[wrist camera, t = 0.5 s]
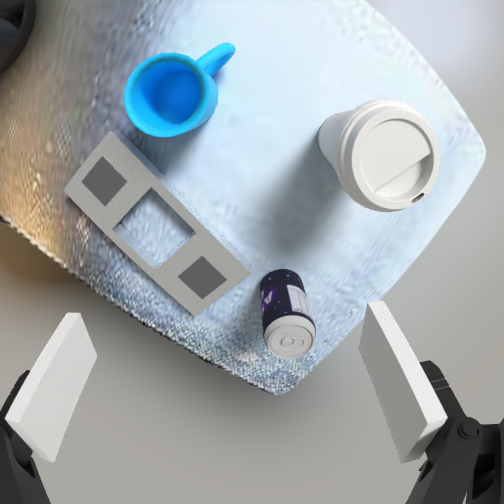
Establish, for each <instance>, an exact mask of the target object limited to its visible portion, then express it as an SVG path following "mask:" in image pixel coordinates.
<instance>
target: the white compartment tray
mask: <svg viewBox="0 0 504 504" xmlns="http://www.w3.org/2000/svg"><path fill="white" fill-rule="evenodd" d="M151 187H152V188H153V189H154V190H155V191H156V192H157V193H158V194H159V195H160V196H161V197H162V198H163V199H164V200H165V201H166V202H167V203H168V204H169V205H170V206H171V207H172V208H173V209H174V210H175V211H176V212H177V213H178V214H179V215H180V216H181V217H182V218H183V220H184V221H185V222H186V223H187V224H188V225H189V226H190V227H191V228H192V229H193V230H194V231H193V232H192V233H191V234H190V235H189V236H187V237H186V238H185V239H184V240H183V241H182V242H181V243H180V244H179V245H177V246H176V247H175V248H174V249H173V250H172V251H171V252H170V253H169V254H168V255H167V256H166V257H164V258H163V259H162V260H161V261H159V260H158V259H156V258H155V257H154V256H153V255H152V254H151V253H150V252H149V251H148V250H147V249H146V248H145V247H144V246H143V245H142V244H141V243H140V242H139V241H138V240H137V239H136V238H135V237H134V236H133V235H132V234H131V233H130V232H129V231H128V230H127V229H126V228H125V227H124V226H123V225H122V224H121V223H120V222H119V221H120V220H121V219H122V218H123V217H124V216H125V215H126V214H127V213H128V212H129V211H130V209H131V208H132V207H133V206H134V205H135V204H136V203H137V202H138V201H139V200H140V199H141V198H142V197H143V196H144V195H145V194H146V192H147V191H148V190H149V189H150V188H151ZM64 191H65V193H66V194H67V195H68V196H69V197H70V198H71V199H72V200H73V201H74V202H75V203H76V204H77V205H78V206H79V207H80V208H81V209H82V211H83V212H84V213H85V214H86V215H87V216H88V217H89V218H90V219H91V220H92V221H93V222H94V223H95V224H96V225H97V226H98V227H99V228H100V229H101V230H102V231H103V232H104V233H105V234H106V235H107V236H108V237H109V238H110V239H111V240H112V241H113V242H114V243H115V244H116V245H117V246H118V247H119V248H120V249H121V250H122V251H123V252H124V253H126V254H127V255H128V256H129V257H130V258H131V259H132V260H133V261H134V262H135V263H136V264H137V265H138V266H139V267H140V268H141V269H142V270H143V271H145V272H146V273H147V274H148V275H149V276H150V277H151V278H152V279H153V280H154V281H155V282H156V283H158V284H159V285H160V286H161V287H162V288H163V289H164V290H165V291H166V292H168V293H169V294H170V295H171V296H172V297H173V298H174V299H175V300H177V301H178V302H179V303H180V304H181V305H182V306H183V307H185V308H186V309H187V310H188V311H189V312H190V313H191V314H193V315H194V316H196V315H197V314H199V313H200V312H201V311H203V310H204V309H205V308H207V307H208V306H209V305H211V304H212V303H213V302H214V301H216V300H217V299H218V298H220V297H221V296H222V295H224V294H225V293H226V292H228V291H229V290H230V289H231V288H233V287H234V286H235V285H237V284H238V283H239V282H241V281H242V280H243V279H244V278H246V277H247V276H248V275H250V274H251V264H250V263H249V262H248V261H247V260H246V259H245V258H244V257H243V256H242V255H241V254H240V253H239V252H238V251H237V250H236V249H235V248H234V247H233V246H232V245H231V244H230V243H229V242H228V241H227V239H226V238H225V237H224V236H223V235H222V234H221V233H220V232H219V231H218V230H217V229H216V228H215V227H214V226H213V225H212V224H211V223H210V222H209V221H208V220H207V219H206V218H205V217H204V216H203V215H202V214H201V213H200V212H199V211H198V210H197V209H196V208H195V207H194V206H193V205H192V204H191V203H190V202H189V201H188V200H187V199H186V198H185V197H184V196H183V195H182V194H181V193H180V192H179V190H178V189H177V188H176V187H175V186H174V185H173V184H172V183H171V182H170V181H169V180H168V179H167V178H166V177H165V176H164V175H163V174H162V173H161V172H160V171H159V170H158V169H157V168H156V167H155V166H154V165H153V164H152V163H151V162H150V161H149V160H148V159H147V158H146V157H145V156H144V154H143V153H142V152H141V151H140V150H139V149H138V148H137V147H136V146H135V145H134V144H133V143H132V142H131V141H130V140H129V139H128V138H127V137H126V136H125V135H124V134H123V133H122V132H121V131H120V130H119V129H115V130H111V131H110V132H109V133H108V134H107V135H106V136H105V138H104V139H103V140H102V141H101V142H100V143H99V145H98V146H97V147H96V148H95V150H94V151H93V152H92V153H91V155H90V156H89V157H88V158H87V160H86V161H85V162H84V163H83V165H82V166H81V167H80V169H79V170H78V171H77V172H76V174H75V175H74V176H73V178H72V179H71V181H70V182H69V183H68V185H67V186H66V187H65V189H64Z"/></svg>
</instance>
